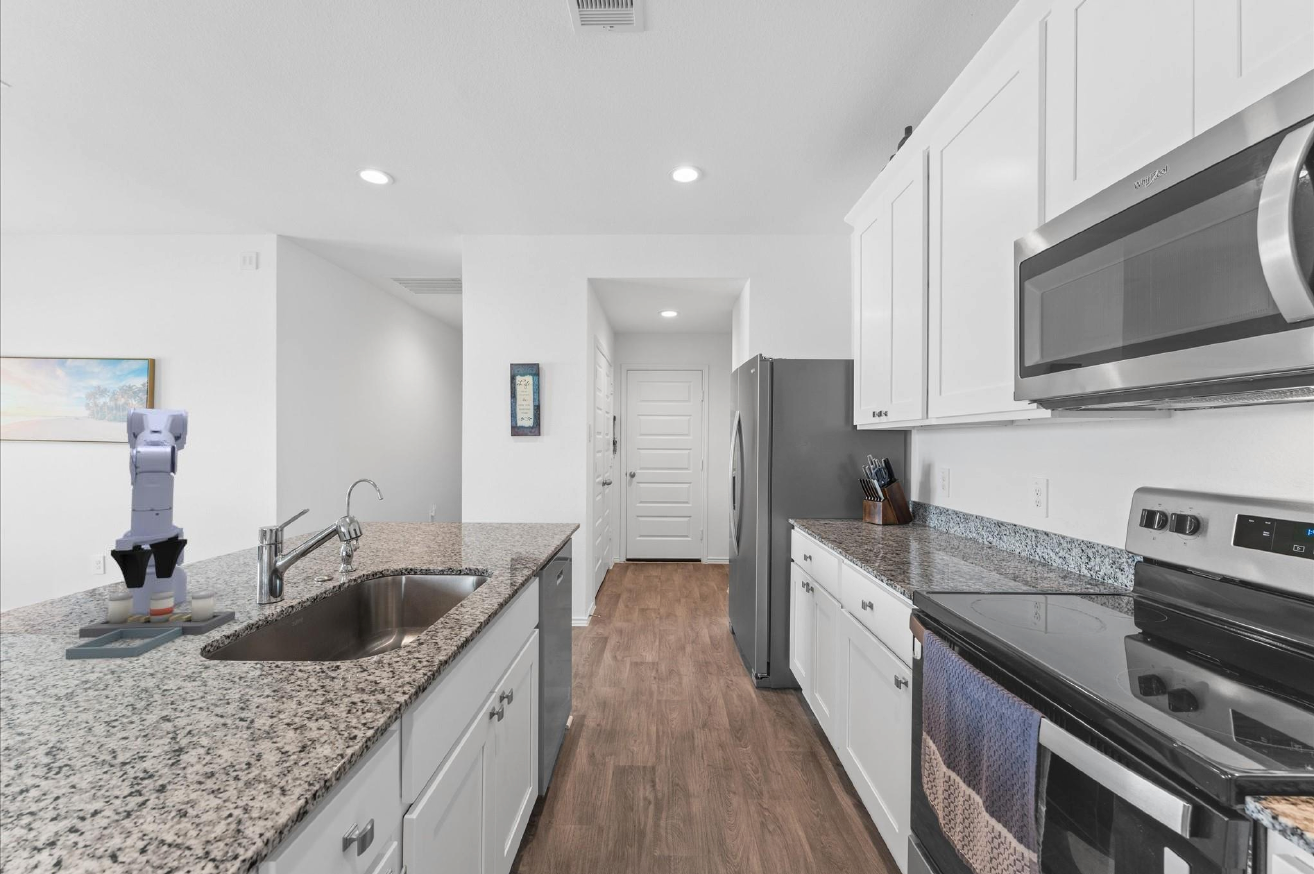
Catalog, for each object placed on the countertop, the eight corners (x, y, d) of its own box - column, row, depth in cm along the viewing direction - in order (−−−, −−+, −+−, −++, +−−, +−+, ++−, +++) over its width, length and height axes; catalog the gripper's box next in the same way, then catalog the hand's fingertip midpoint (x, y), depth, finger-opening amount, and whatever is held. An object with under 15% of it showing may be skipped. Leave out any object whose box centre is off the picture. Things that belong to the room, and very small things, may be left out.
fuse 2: (198, 624, 104) (199, 589, 104) (217, 623, 104) (218, 589, 104) (186, 629, 101) (187, 594, 101) (205, 629, 101) (206, 594, 101)
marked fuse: (158, 625, 103) (159, 590, 103) (177, 624, 103) (178, 590, 104) (144, 630, 100) (145, 595, 100) (163, 630, 100) (165, 594, 100)
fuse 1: (117, 626, 102) (119, 591, 102) (136, 625, 103) (137, 590, 103) (102, 631, 99) (103, 595, 99) (122, 631, 99) (123, 595, 100)
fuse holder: (122, 626, 105) (123, 610, 105) (234, 623, 107) (235, 608, 107) (78, 643, 96) (79, 625, 96) (201, 639, 98) (202, 622, 98)
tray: (120, 642, 96) (120, 628, 96) (181, 641, 97) (182, 627, 97) (65, 665, 86) (66, 649, 86) (134, 663, 87) (135, 647, 88)
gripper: (154, 506, 108) (152, 574, 108) (95, 514, 94) (92, 593, 93) (195, 505, 109) (193, 573, 109) (143, 513, 95) (141, 591, 95)
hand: (150, 582), depth 101 cm, fingers open, 7 cm apart
